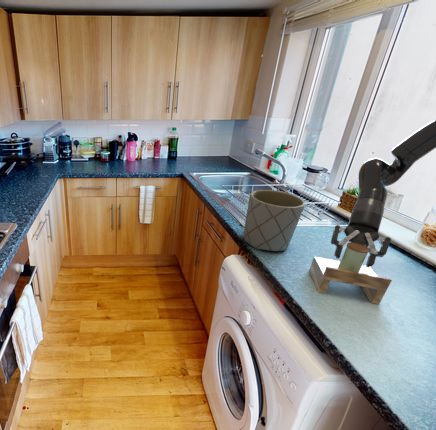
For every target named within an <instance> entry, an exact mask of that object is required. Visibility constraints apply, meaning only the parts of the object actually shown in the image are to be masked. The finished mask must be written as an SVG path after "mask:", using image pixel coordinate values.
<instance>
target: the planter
mask: <svg viewBox="0 0 436 430" xmlns="http://www.w3.org/2000/svg"><path fill="white" fill-rule="evenodd" d="M305 206H306V201H305V200H304V199H303V198H301V197H299V196H297V195H295V194H293V193H289V192H285V191H280V190H273V189H257V190H252V191H251V192H250V193H249V198H248V203H247V210H246V216H245V222H244V228H243V235H242V237H243V240H244V241H245V242H246V243H247V244H248V245H249V246H251V248H254V249H255V250H256V251H257V250H264V251H272V252H280V251H287V249H288V248H289V246H290V243H291V240H292V239H293V236H294V233H295V231H296V228H297V226H298V224H299V221H300V219H301V216H302V214H303V211H304V210H305V209H304V208H305Z"/></svg>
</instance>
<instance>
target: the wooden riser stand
mask: <svg viewBox="0 0 436 430" xmlns="http://www.w3.org/2000/svg"><path fill="white" fill-rule="evenodd" d="M312 258H313V259H312V261H311V264H310V267H309V269H308V272H309V274H310V277H311V279H312V281H313V284H314V286H315V287H316V290H317V292H319V293H323V294H326V292H327V290H328V287H329V285H330V284H331V281H333V282H337V283H343V284H347V285H353V286H358V287H360V288H361V290H362V291H363V293H364V294H365V295H366V297H367V298H368V300H369V301H370V303H371V304H376V305H380V304H381V302H382V300H383V298H384V296H385V295H386V293H387V290H388V289H389V286H390V285H391V283H392V281H393V279H391V278H390V277H386V276H380V275H377V273H376V272H375V271H374V269H373V268H372V266H370V267H366V264H365V265H364V264H362V267H361V269H360V271H359V272H353V271H348V270H342V269H338V266H339V264H340V261H341V260H335V259H330V258H324V257H319V256H313V257H312Z"/></svg>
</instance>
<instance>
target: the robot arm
mask: <svg viewBox="0 0 436 430" xmlns="http://www.w3.org/2000/svg"><path fill="white" fill-rule="evenodd" d="M435 149H436V119H435V120H433V121H431V122H429V123H427V124H426V125H424V126H422V127H421V128H419V129H418V130H416V131H415V132H413V133H412V134H411V135H409V136H408V137H406V138H404V140H402V141H401V142H399V144H397V145H396V146H395V147H393V148H392V150H391V151H390V153H391V154H392V156H393V157H394V160H393V161H392V162H391V163H388V162H387V161H385V160H383V159H381V158H378V157H374V158H370V159H368V160H366V161H365V162H363V164H362V165H361V166H360V168H359V170H358V188H359V191H358V194H357V197H356V201H355V203H354V205H353V207H352V210H351V212H350V213H351V214H350V216H349V217H350V218H349V221H348V223H347V226H346V227H342V226H341V225H339V224H336V225H335V226H334V228H333V231H332V235H331V239H330V244H331V245H334V246H335V251H334V255H333V256H334V257H336V259H340V257H341V256H342V252H343V248H344V246H346V245H347V243H349V242H354V243H359V244H362V245H364V246H366V247H368V248H369V249H370V251H369V252H368V254H369V255H368V257H367V261H366V264H365V266H366V267H373V266H374V265H375V262H376V259H377V258H383V257H385V256H386V255H387V252H388V250H389V247H390V243H391V240H392V238H391V237H389V236H387V237H386V236H385V237H384V236H380V235H379V230H380V226H381V223H382V220H383V217H384V212H385V205H386V202H387V198H388V193H389V192H388V190H387V188H386V187H388V186H393V185H394V184H395V183H397V182H398V181H399V180H400V179H401V178H402V177H403V176H404V175H405V174H406V173H407V172H408V170H410V168H411V167H413V165H414V164H415V163H416V162H418V161H419V160H421V159H422V158H423V157H425V156H426V155H428V154H429V153H431V152H432V151H433V150H435ZM342 233H344V234H345V237H344V238H343V239H341V240H340V241H339V240H338V237H339V235H341V234H342ZM376 241H378V242H379V244H380V248H379V251H378V250H377V248H376V244H375V243H374V242H376Z"/></svg>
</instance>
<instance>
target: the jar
mask: <svg viewBox="0 0 436 430" xmlns="http://www.w3.org/2000/svg"><path fill="white" fill-rule="evenodd" d="M369 251H370V249H369V248H368V247H366V246H364V245H362V244H359V243H354V242H348V243H347V244H346V247H345V249H344V252H343V254H342V255H341V256H342V257H341V259H340V260H339V261H340V264H339V266H338V269H342V270H348V271H353V272H359V271H360V269H361V267H362V265H364V263H365V260H366V258H367V255H368V254H369Z"/></svg>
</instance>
